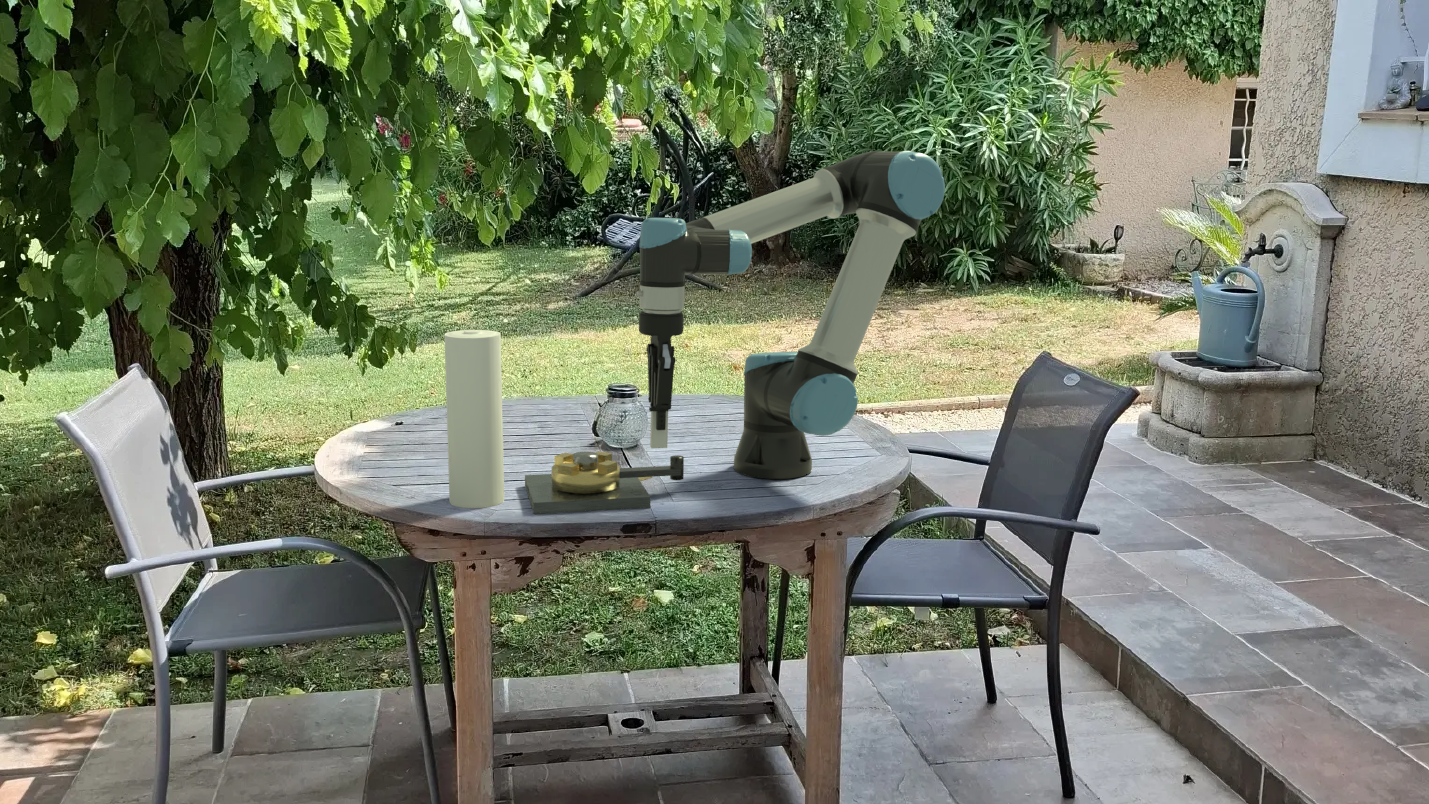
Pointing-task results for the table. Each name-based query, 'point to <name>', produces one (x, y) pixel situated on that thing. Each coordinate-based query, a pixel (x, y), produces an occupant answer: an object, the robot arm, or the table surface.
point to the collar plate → (584, 496)
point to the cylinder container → (474, 418)
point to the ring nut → (603, 472)
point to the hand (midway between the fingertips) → (658, 446)
